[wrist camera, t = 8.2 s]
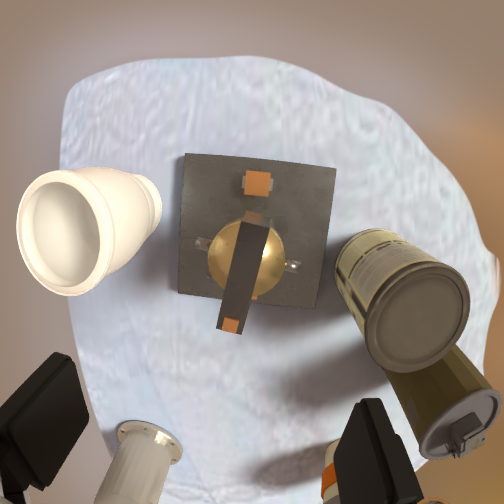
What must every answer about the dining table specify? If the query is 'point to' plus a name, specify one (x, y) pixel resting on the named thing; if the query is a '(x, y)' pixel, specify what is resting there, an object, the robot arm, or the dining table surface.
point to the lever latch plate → (262, 202)
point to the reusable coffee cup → (330, 477)
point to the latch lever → (245, 265)
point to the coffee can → (401, 300)
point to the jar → (84, 225)
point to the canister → (447, 405)
